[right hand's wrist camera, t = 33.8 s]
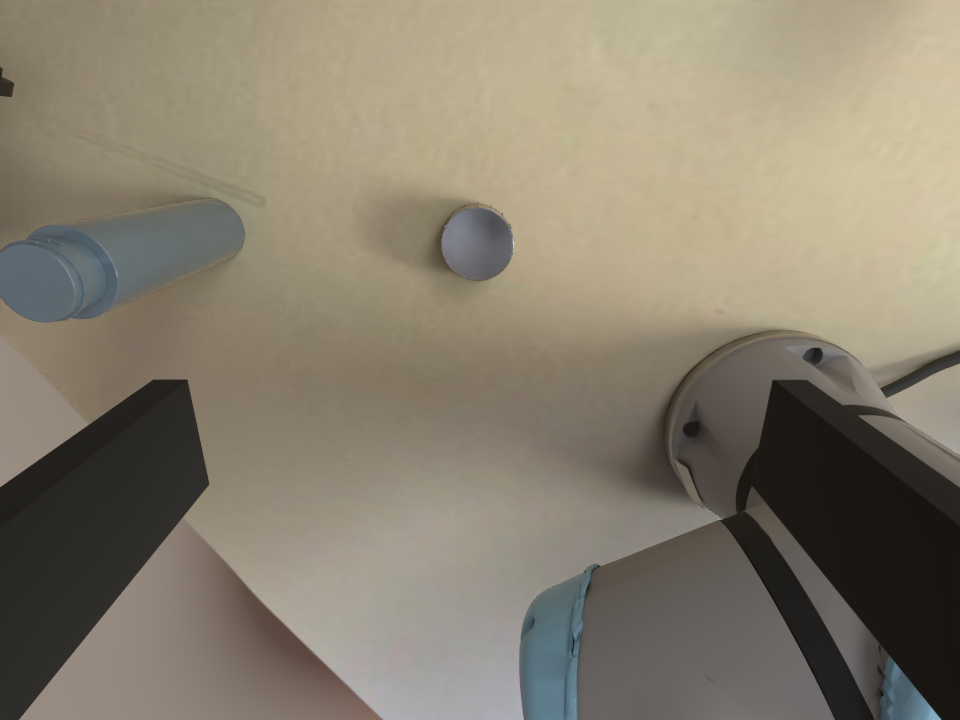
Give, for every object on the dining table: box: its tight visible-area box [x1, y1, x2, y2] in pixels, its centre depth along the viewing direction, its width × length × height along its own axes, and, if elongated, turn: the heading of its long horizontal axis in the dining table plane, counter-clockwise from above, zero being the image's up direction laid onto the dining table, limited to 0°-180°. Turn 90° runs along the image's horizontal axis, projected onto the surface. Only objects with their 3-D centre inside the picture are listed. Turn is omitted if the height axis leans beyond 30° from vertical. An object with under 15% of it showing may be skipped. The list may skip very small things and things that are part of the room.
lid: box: [440, 203, 515, 281], centre depth 36 cm, size 5×5×2 cm
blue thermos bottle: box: [0, 198, 244, 322], centre depth 30 cm, size 4×4×16 cm
